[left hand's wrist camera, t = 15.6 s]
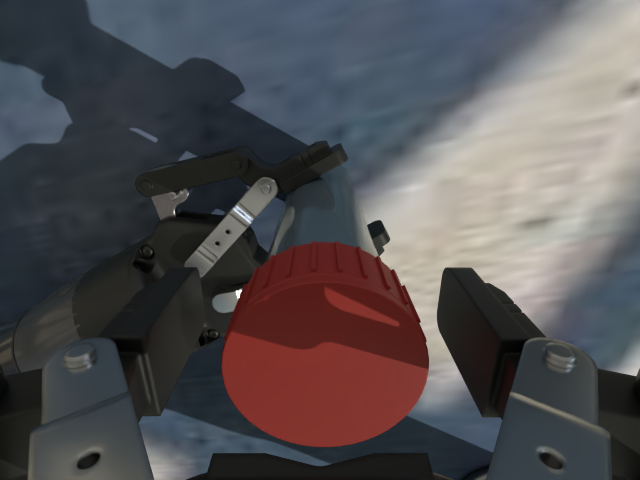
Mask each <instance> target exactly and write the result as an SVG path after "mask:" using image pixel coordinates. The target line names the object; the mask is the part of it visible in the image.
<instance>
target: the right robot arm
mask: <svg viewBox="0 0 640 480" xmlns="http://www.w3.org/2000/svg"><path fill="white" fill-rule="evenodd" d="M347 160H348V157H347V155H346V153H345V151H344V149H343V147H342V145H341V143H340V144H337V145H335V146H333V147H331V148H330V146H329V145H328V143H327V141H319V142H315V143H314V144H312V145H310V146H308V147H307V148H305V149H303V150H301V151H300V152H298V153H296V154H294V155H293V156H291V157H289V158H287V159H286V160H284V161H282V162H281V163H279V164H275V165H271V164H267V163H265V162H264V161H262V160H261V159H260V158H259V157H258V156H256V155H255V153H254V151H253V150H252V149H251V148H250V147H247V146H241V147H237V148H233V149H228V150H224V151H220V152H216V153H212V154H207V155H203V156H199V157H195V158H191V159H186V160H182V161H178V162H174V163H170V164H166V165H161V166H159V167H157V168H155V169H152V170H150V171H148V172H146V173H144V174H142V175H140V176H138V177H137V179H136V183H135V184H136V188H137V190H138V191H139V193H140V194H142V195H144V196H146V197H151V198H152V201H153V203H154V206H155V208H156V211H157V213H158V215H159V218H160V221H159V222H158V223H157V225H156V226H155V228H154V231H153V232H152V234H151V235H150V236H148V237H146V238H144V239H143V240H141V241H139V242H137V243H136V244H134V245H132V246H130V247H129V248H127V249H125V250H123V251H122V252H120V253H118V254H117V255H115V256H113V257H111V258H110V259H108V260H106V261H104V262H103V263H101V264H99V265H97V266H96V267H94V268H92V269H90V270H89V271H87V272H85V273H84V274H82V275H80V276H78V277H76V278H75V279H73V280H71V281H69V282H68V283H66V284H64V285H63V286H61V287H59V288H58V289H56V290H55V291H54V292H52V293H51V294H50V295H48V296H47V297H46V298H45V299H44V300H42V301H41V302H40V303H39V304H37V305H36V306H34V307H32V308H30V309H29V310H27V311H25V312H23V313H22V314H20V315H18V316H16V317H15V318H13V319H11V320H9V321H8V322H6V323H4V324H3V325H1V326H0V364H1V367H2V369H3V372H4V374H5V376H6V375H11V374H16V373H21V372H26V371H31V370H36V369H41V368H43V365H44V363H45V362H46V360H47V359H48V358H49V357H50V356H51V355H52V354H53V353H55V352H56V351H58V350H59V349H61V348H63V347H65V346H66V345H69V344H71V343H74V342H76V341H79V340H83V339H88V338H96V337H97V336H98V335H99V333H100V332H101V331H102V330H103V329H104V328H105V327H106V326H107V325H108V324H109V322H110V321H111V320H112V319H113V318H114V317H115V316H116V315H117V314H118V313H119V312H121V309H122V308H123V307H124V306H125V305H126V304H127V303H129V301H130V300H131V298H132V297H133V296H134V295H135V294H136V293H137V292H138V291H139V290H141V289H143V288H145V287H146V286H148V285H150V284H151V283H157V282H158V281H159V280H160V279H161V278H162V277H163V275H164V274H165V273H166V272H167V271H168V270H169V268H171V267H196V268H197V269H198V271H199V274H200V281H201V288H202V295H203V302H204V309H205V321H204V327H203V330H202V332H201V334H200V337H199V339H198V341H197V343H196V345H195V347H194V349H193V351H192V353H194V352H196V351H198V350H200V349H202V348H204V347H206V346H207V345H209V344H210V343H212V342H213V341H215V340H216V339H218V338H220V337H222V336H225V333H226V331H227V328H228V326H229V323H230V319H231V317H232V314H233V311H234V309H235V306H236V304H237V301H238V299H239V296H240V293H241V291H242V288H243V286H244V284H248V282H249V281H250V279H251V278H252V276H253V273H254V270H255V269H256V268H258V269H259V268H260V267H261V266H262V265H263V264H264V263H265V262H266V259H267V256H268V252H267V251H265V250H264V249H263V248H262V247H261V246H260V245H259V244H258V242H257V239H256V236H255V233H254V231H253V230H252V228H251V227H250V224H251V223H252V222H253V220H254V219H255V218H256V217H257V216H258V215H259V213H260V212H261V211H262V210H263V209H264V208H265V207H266V206H267V205H268V204H269V203H270V202H271V200H272V199H273V198H274V197H275V196H276V195H277V194H278V193H280V192H282V191H284V193H285V195H287V194H288V193H290V192H292V191H294V190H296V189H297V188H299V187H300V186H303V185H305V184H306V183H308V182H310V181H312V180H314V179H315V178H317V177H319V176H321V175H323V174H324V173H326V172H328V171H330V170H332V169H334V168H335V167H337V166H339V165H341V164H342V163H344V162H345V161H347ZM234 177H238V178H240V179H241V180H242V181H243V182H245V183H246V184H247V185H248V186H250V188H249V189H248V190H247V191H246V192H245V193H244V194H243V195H242V196H241V197H240V199H239V200H238V201H237V202H236V203H235V204H234V205H233V206H232V208H231V209H230V210H229V211H228V212H227V213H226V214H225V215H224V216H223V215H215V214H206V213H197V212H188V211H181V208H180V207H181V203H182V202H184V201H185V200H187V199H188V198H189V197H190V196H191V195H192V194H193V187H196V186H200V185H204V184H209V183H213V182H217V181H221V180H226V179H230V178H234ZM367 226H368V228H369V231H370V234H371V236H372V239H373V242H374V245H375V247H376V250H377V253H378V256H380V255H381V254H382V253H383V252H384V249H383V246H384V245H385V244H387V243H388V242H389V241H390V237H389V235H388V233H387V231H386V229H385V227H384V225H383V223H382V221H380V220H378V221H374V222H372V223H370V224H368V225H367ZM192 353H191V354H192ZM488 470H489V467H487V468H484V469H481V470H479V471H476V472H474V473H473V474H471V475H469V476H468V477H466V478H465V479H464V480H486V477H487V474H488Z"/></svg>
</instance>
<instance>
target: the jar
mask: <svg viewBox="0 0 640 480" xmlns="http://www.w3.org/2000/svg"><path fill="white" fill-rule="evenodd" d="M312 241H316V243H317V242H332V243H335V241H338V242H339V243H340V244H346V245H350V246H353V247H356V248H357V246H359V247H361V250H364V251H366V252H368V253H370V254H371V255H373V256H375V257H377V256H378V253H377V250H376V247H375V245H374V242H373V239H372V236H371V234H370V231H369V228H368V226H367V223H366V220H365V217H364V215H363V212H362V209H361V206H360V204H359V201H358V198H357V196H356V193H355V190H354V187H353V185H352V182H351V179H350V177H349V174H348V173H347V171H346V170H345V168H344V167H343V166H342V165H339V166H337V167H335V168H334V169H332V170H330V171H328V172H326V173H324V174H323V175H321V176H319V177H317V178H315V179H314V180H312V181H310V182H308V183H306V184H305V185H303V186H300V187H299V188H297V189H296V190H294V191H292V192H290V193H288V194H287V195H286V199H285V202H284V205H283V208H282V211H281V214H280V218H279V221H278V224H277V227H276V230H275V233H274V237H273V240H272V243H271V246H270V249H269V252H268V256H267V259H266V262H267V261H268V260H269V259H270V256H272V255H274V256H275V255H277V254H279V253H281V252H283V251H285V250H287V249H290V246H293V245H294V247H296V246H299V245H303V244H308V243H312ZM266 262H265V263H266Z"/></svg>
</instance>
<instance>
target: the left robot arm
mask: <svg viewBox="0 0 640 480" xmlns="http://www.w3.org/2000/svg"><path fill="white" fill-rule="evenodd" d="M204 321H205V309H204V302H203V295H202V288H201V281H200V274H199V271H198V269H197V268H196V267H171V268H169V270H168V271H167V272H166V273H165V274H164V275H163V277H162V278H161V279H160V280H159V281H158V282H157V283H151V284H150V285H148V286H146V287H145V288H143V289H141V290H139V291H138V292H137V293H136V294H135V295H134V296H133V297H132V298H131V300H130V301H129V303H127V304H126V305H125V306H124V307H123V308H122V309H121V312H119V313H118V314H117V315H116V316H115V317H114V318H113V319H112V320H111V321H110V322H109V324H108V325H107V326H106V327H105V328H104V329H103V330H102V331H101V332H100V333H99V335H98V336H97V337H96V338H88V339H83V340H79V341H76V342H74V343H71V344H69V345H66V346H65V347H63V348H61V349H59V350H58V351H56V352H55V353H53V354H52V355H51V356H50V357H49V358H48V359H47V360H46V362H45V363H44V365H43V368H41V369H36V370H31V371H26V372H21V373H16V374H11V375H6V376H5V374H4V372H3V369H2V367H1V364H0V480H154V477H153V474H152V470H151V466H150V463H149V459H148V456H147V452H146V448H145V445H144V441H143V438H142V434H141V430H140V427H139V421H140V419H141V417H142V416H161V414H162V412H163V410H164V407H165V405H166V403H167V401H168V399H169V397H170V395H171V393H172V391H173V389H174V387H175V385H176V383H177V381H178V379H179V377H180V375H181V373H182V371H183V369H184V367H185V365H186V363H187V361H188V359H189V357H190V355H191V353H192V351H193V349H194V347H195V345H196V343H197V341H198V339H199V337H200V334H201V332H202V330H203V327H204ZM437 323H438V328H439V331H440V333H441V335H442V337H443V339H444V341H445V343H446V345H447V347H448V349H449V351H450V353H451V355H452V357H453V359H454V361H455V363H456V365H457V367H458V369H459V371H460V373H461V375H462V377H463V379H464V381H465V383H466V385H467V387H468V389H469V391H470V393H471V395H472V397H473V399H474V401H475V403H476V405H477V407H478V409H479V411H480V413H481V415H482V417H501V419H502V423H501V427H500V430H499V434H498V438H497V441H496V445H495V448H494V452H493V456H492V459H491V463H490V466H489V470H488V474H487V477H486V480H640V369H639V371H638V374H637V376H632V375H627V374H622V373H617V372H612V371H607V370H602V369H598V368H597V365H596V363H595V362H594V360H593V359H592V358H591V357H590V356H589V355H588V354H587V353H585V352H584V351H582V350H581V349H579V348H577V347H575V346H574V345H571V344H569V343H566V342H564V341H561V340H557V339H552V338H546V337H545V335H544V334H543V333H542V332H541V331H540V330H539V329H538V328H537V327H536V326H535V325H534V324H533V322H532V321H531V320H530V319H529V318H528V317H527V316H526V315H525V314H524V313H522V311H521V309H520V308H519V307H518V306H517V305H516V304H514V302H513V301H512V300H511V299H510V298H509V296H508V295H507V294H506V293H505V292H504V291H502V290H500V289H498V288H497V287H495V286H493V285H492V284H490V283H484V281H483V280H482V279H481V278H480V277H479V276H478V274H477V273H476V272H475V271H474V270H473V269H472V268H445V269H444V271H443V274H442V281H441V288H440V295H439V302H438V309H437ZM187 480H453V479H451V478H448V477H445V476H443V475H440V474H436V473H433V472H432V468H431V465H430V462H429V458H428V455H427V453H374V454H370V455H366V456H362V457H358V458H354V459H350V460H346V461H343V462H339V463H335V464H331V465H327V466H313V465H309V464H305V463H301V462H297V461H294V460H290V459H286V458H282V457H278V456H274V455H270V454H266V453H213V455H212V458H211V462H210V465H209V468H208V472H207V473H204V474H200V475H197V476H195V477H192V478H189V479H187Z"/></svg>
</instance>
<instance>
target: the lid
mask: <svg viewBox="0 0 640 480" xmlns="http://www.w3.org/2000/svg"><path fill="white" fill-rule="evenodd" d="M420 322H421V321H420V319H419V317H418V314H417V312H416V310H415V308H414V305H413V303H412V301H411V299H410V296H409V294H408V292H407V290H406V287H405V285H404V286H401V284H400V281H399V279H398V277H397V274H396V272H395V270H394V269H393V270H390V269H389V268H388V267H387V265H385V264H384V263H383V262H382V261H381V259H380V257H379V256H377V257H375V256H373V255H371V254H370V253H368V252H366V251H364V250H361V247H359V246H357V248H356V247H353V246H350V245H346V244H340V243H339V242H338V241H335V243H332V242H317V243H316V241H312V243H308V244H303V245H299V246H296V247H294V245H293V246H290V249H287V250H285V251H283V252H281V253H279V254H277V255H275V256H274V255H272V256H270V259H269V260H268V261H267V262H266V263H264V264H263V265H262V266H261V267H260V268H259V269H258V268H256V269H255V270H254V273H253V276H252V278H251V279H250V281H249V282H248V284H244V286H243V288H242V291H241V293H240V296H239V299H238V301H237V304H236V306H235V309H234V311H233V314H232V317H231V319H230V323H229V326H228V328H227V331H226V333H225V336H224V340H225V344H224V347H223V351H222V359H221V369H222V377H223V381H224V385H225V388H226V390H227V393H228V395H229V397H230V399H231V400H232V402H233V404H234V405H235V406H236V408H237V409H238V410H239V411H240V413H241V414H242V415H243V416H244V417H245V418H246V419H247V420H248V421H250V422H251V423H252V424H254V425H255V426H256V427H258V428H259V429H261V430H262V431H264V432H266V433H268V434H270V435H272V436H274V437H276V438H278V439H281V440H284V441H287V442H290V443H295V444H299V445H305V446H313V447H335V446H343V445H350V444H354V443H358V442H362V441H365V440H367V439H370V438H373V437H375V436H377V435H379V434H381V433H383V432H385V431H386V430H388V429H390V428H391V427H393V426H394V425H396V424H397V423H398V422H399V421H401V420H402V419H403V418H404V417H405V416H406V415H407V414H408V413H409V412H410V411H411V409H412V408H413V407H414V405H415V404H416V403H417V401H418V400H419V398H420V396H421V394H422V392H423V390H424V387H425V384H426V381H427V376H428V371H429V356H428V349H427V345H426V338H425V335H424V333H423V331H422V328H421V326H420V324H419V323H420Z"/></svg>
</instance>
